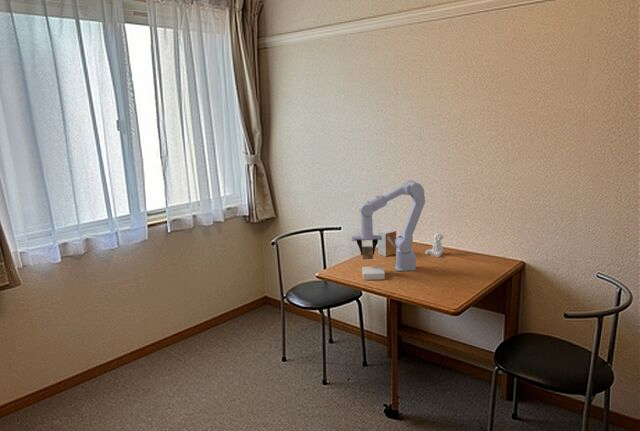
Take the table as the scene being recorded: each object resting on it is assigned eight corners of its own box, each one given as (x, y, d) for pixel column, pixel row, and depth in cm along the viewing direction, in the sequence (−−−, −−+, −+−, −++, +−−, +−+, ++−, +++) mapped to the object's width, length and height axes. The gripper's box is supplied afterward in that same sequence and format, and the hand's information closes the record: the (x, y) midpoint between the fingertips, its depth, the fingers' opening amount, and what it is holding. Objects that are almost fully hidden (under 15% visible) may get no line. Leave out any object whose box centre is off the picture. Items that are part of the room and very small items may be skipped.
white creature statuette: (424, 254, 255) (424, 232, 253) (434, 250, 260) (434, 229, 258) (438, 257, 248) (438, 236, 245) (448, 254, 253) (448, 233, 250)
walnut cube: (372, 255, 234) (371, 246, 232) (373, 258, 229) (372, 249, 228) (362, 256, 234) (361, 246, 233) (362, 259, 229) (362, 249, 228)
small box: (385, 256, 254) (385, 233, 251) (378, 254, 259) (377, 231, 256) (396, 253, 258) (396, 230, 256) (389, 251, 264) (388, 228, 261)
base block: (382, 271, 231) (382, 266, 230) (384, 279, 221) (384, 273, 220) (362, 272, 231) (362, 266, 230) (363, 279, 221) (363, 273, 221)
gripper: (380, 225, 231) (381, 251, 234) (351, 226, 232) (352, 252, 235) (382, 228, 224) (382, 255, 227) (352, 229, 225) (353, 256, 228)
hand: (367, 254), depth 231 cm, fingers closed on walnut cube, 5 cm apart
